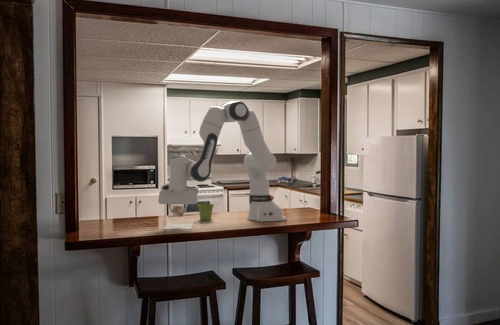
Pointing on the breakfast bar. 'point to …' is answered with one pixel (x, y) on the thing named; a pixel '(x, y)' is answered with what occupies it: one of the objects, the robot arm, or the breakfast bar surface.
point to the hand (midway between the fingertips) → (178, 212)
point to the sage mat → (178, 226)
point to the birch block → (178, 210)
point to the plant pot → (205, 211)
